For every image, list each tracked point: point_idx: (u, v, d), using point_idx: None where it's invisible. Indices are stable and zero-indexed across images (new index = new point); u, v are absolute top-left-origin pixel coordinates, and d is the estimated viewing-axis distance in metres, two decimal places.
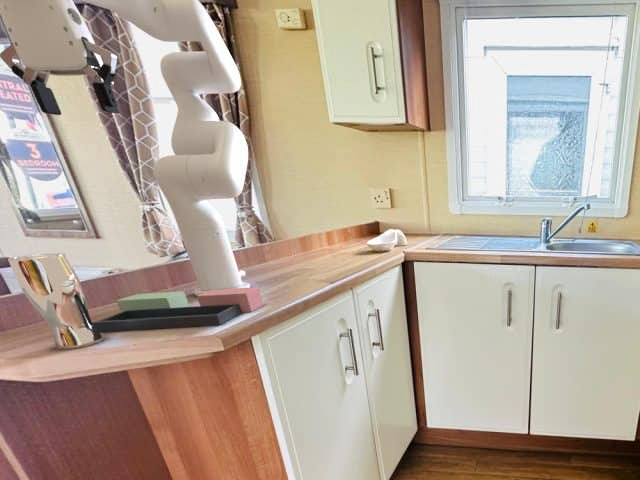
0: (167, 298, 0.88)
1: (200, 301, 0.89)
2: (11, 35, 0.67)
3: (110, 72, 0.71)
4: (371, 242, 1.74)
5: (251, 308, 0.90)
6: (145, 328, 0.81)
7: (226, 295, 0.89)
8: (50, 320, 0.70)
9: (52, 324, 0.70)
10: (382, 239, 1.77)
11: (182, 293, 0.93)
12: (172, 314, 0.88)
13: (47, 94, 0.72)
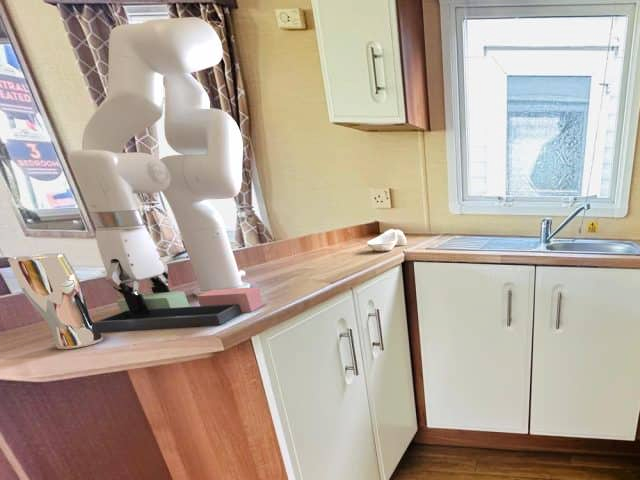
0: (167, 298, 0.88)
1: (200, 301, 0.89)
2: (128, 259, 0.82)
3: None
4: (371, 242, 1.74)
5: (251, 308, 0.90)
6: (145, 328, 0.81)
7: (226, 295, 0.89)
8: (50, 320, 0.70)
9: (52, 324, 0.70)
10: (382, 239, 1.77)
11: (182, 293, 0.93)
12: (172, 314, 0.88)
13: None
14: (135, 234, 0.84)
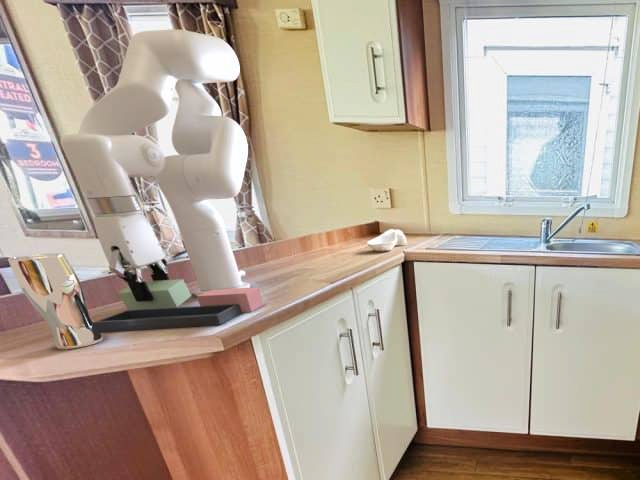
0: (168, 290, 0.88)
1: (200, 301, 0.89)
2: (128, 245, 0.82)
3: None
4: (371, 242, 1.74)
5: (251, 308, 0.90)
6: (145, 328, 0.81)
7: (226, 295, 0.89)
8: (50, 320, 0.70)
9: (52, 324, 0.70)
10: (382, 239, 1.77)
11: (181, 281, 0.92)
12: (172, 314, 0.88)
13: None
14: (133, 220, 0.83)
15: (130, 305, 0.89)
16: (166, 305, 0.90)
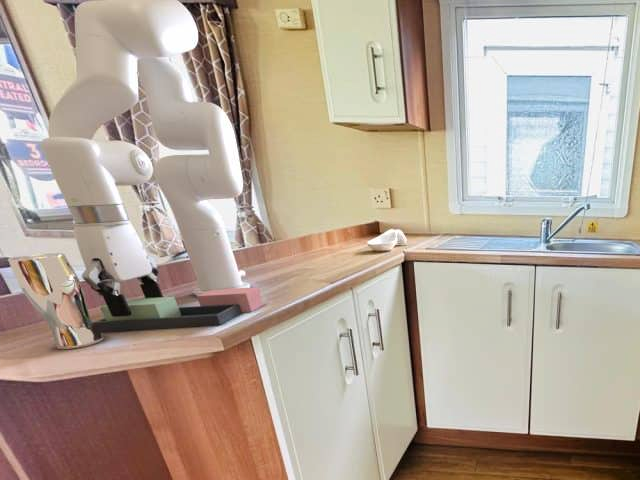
0: (155, 304, 0.81)
1: (200, 301, 0.89)
2: (111, 258, 0.75)
3: None
4: (371, 242, 1.74)
5: (251, 308, 0.90)
6: (145, 328, 0.81)
7: (226, 295, 0.89)
8: (50, 320, 0.70)
9: (52, 324, 0.70)
10: (382, 239, 1.77)
11: (172, 299, 0.85)
12: None
13: None
14: (118, 230, 0.77)
15: None
16: None
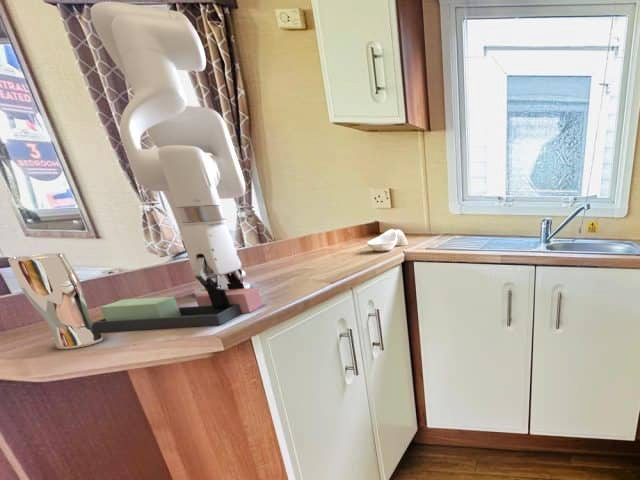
0: (155, 304, 0.81)
1: (198, 302, 0.88)
2: (212, 253, 0.83)
3: (239, 274, 0.95)
4: (371, 242, 1.74)
5: (249, 309, 0.90)
6: (145, 328, 0.81)
7: None
8: (50, 320, 0.70)
9: (52, 324, 0.70)
10: (382, 239, 1.77)
11: (172, 299, 0.85)
12: None
13: None
14: (217, 229, 0.85)
15: None
16: None
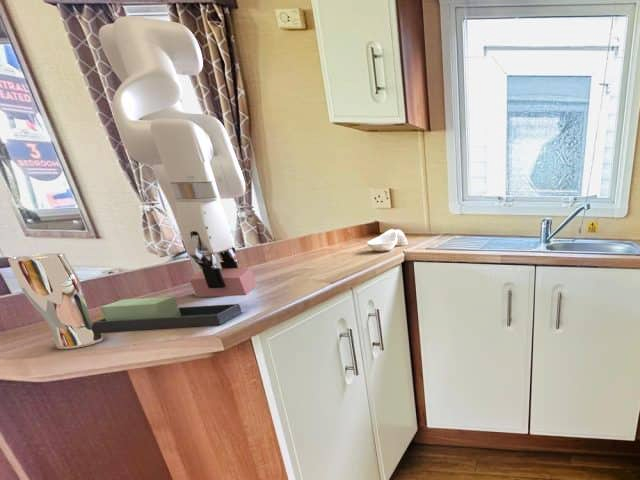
0: (155, 304, 0.81)
1: (193, 284, 0.88)
2: (207, 231, 0.82)
3: None
4: (371, 242, 1.74)
5: (245, 292, 0.90)
6: (145, 328, 0.81)
7: None
8: (50, 320, 0.70)
9: (52, 324, 0.70)
10: (382, 239, 1.77)
11: (172, 299, 0.85)
12: None
13: None
14: (212, 206, 0.84)
15: None
16: None
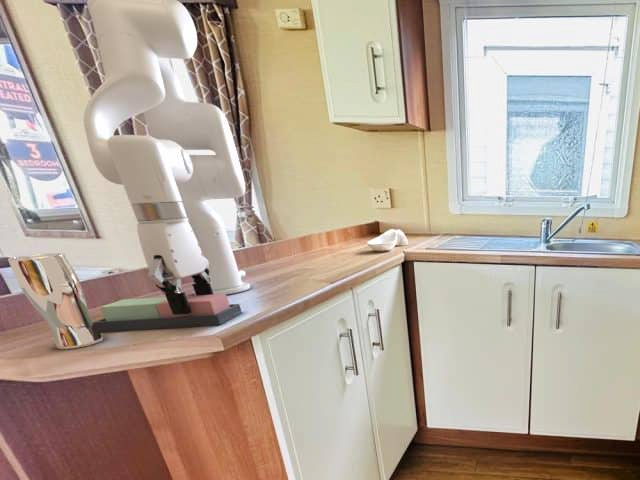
0: (155, 304, 0.81)
1: (160, 309, 0.81)
2: (172, 255, 0.76)
3: (207, 273, 0.88)
4: (371, 242, 1.74)
5: None
6: (145, 328, 0.81)
7: None
8: (50, 320, 0.70)
9: (52, 324, 0.70)
10: (383, 239, 1.77)
11: None
12: None
13: None
14: (178, 228, 0.77)
15: None
16: None
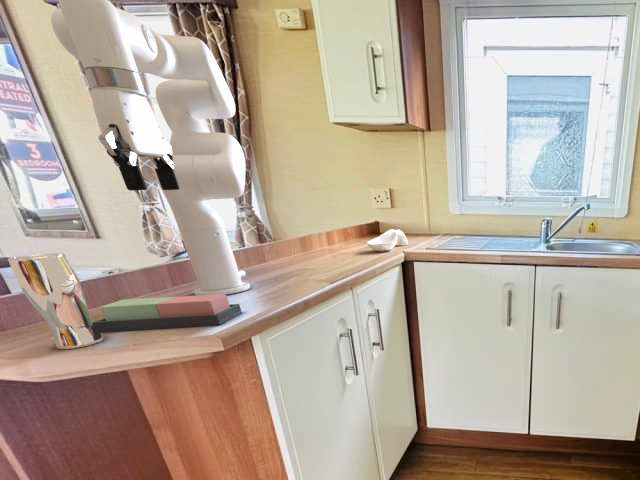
0: (155, 304, 0.81)
1: (160, 309, 0.81)
2: (128, 125, 0.75)
3: None
4: (371, 242, 1.74)
5: None
6: (145, 328, 0.81)
7: (188, 303, 0.81)
8: (50, 320, 0.70)
9: (52, 324, 0.70)
10: (383, 239, 1.77)
11: None
12: None
13: None
14: (135, 100, 0.76)
15: None
16: None
